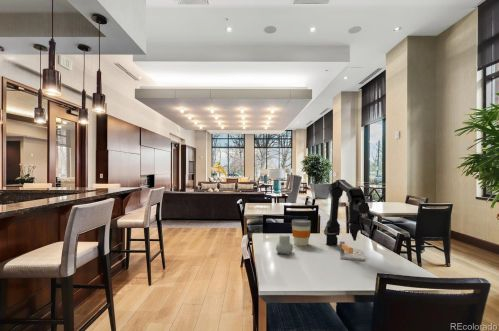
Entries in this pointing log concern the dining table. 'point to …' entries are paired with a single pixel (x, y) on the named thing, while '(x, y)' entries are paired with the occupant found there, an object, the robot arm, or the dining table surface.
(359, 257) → the chassis board
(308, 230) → the reusable coffee cup
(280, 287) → the dining table surface
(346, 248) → the cable arm
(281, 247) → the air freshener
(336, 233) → the robot arm
